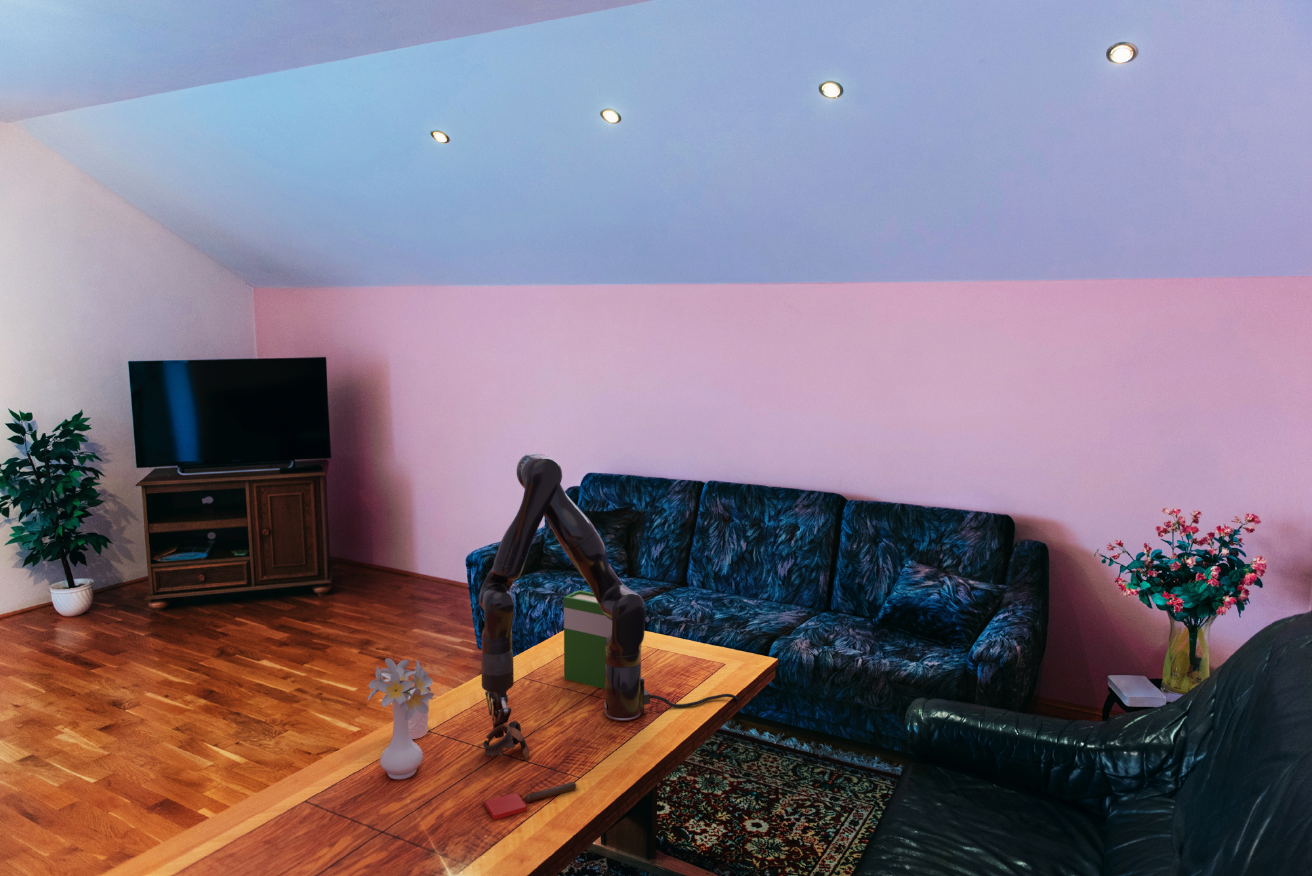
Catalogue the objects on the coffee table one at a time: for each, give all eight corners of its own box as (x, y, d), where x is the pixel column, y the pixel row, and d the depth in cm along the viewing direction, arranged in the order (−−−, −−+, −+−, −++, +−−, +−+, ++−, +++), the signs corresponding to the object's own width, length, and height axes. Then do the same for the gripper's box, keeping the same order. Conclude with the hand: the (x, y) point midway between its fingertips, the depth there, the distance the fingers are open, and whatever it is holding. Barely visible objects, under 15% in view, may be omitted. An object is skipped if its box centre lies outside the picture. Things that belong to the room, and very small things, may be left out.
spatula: (570, 782, 183) (570, 775, 183) (581, 795, 178) (581, 788, 178) (484, 805, 174) (484, 798, 174) (493, 820, 169) (493, 812, 169)
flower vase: (403, 800, 176) (400, 686, 173) (356, 770, 188) (352, 663, 184) (454, 775, 186) (452, 667, 183) (406, 748, 197) (403, 647, 194)
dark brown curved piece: (527, 768, 190) (509, 742, 187) (493, 781, 192) (473, 756, 189) (538, 731, 201) (520, 706, 198) (505, 744, 203) (487, 719, 200)
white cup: (436, 728, 208) (435, 690, 206) (417, 743, 200) (416, 703, 199) (409, 723, 210) (408, 685, 209) (389, 737, 203) (388, 698, 201)
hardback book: (630, 682, 236) (631, 600, 233) (616, 692, 229) (616, 607, 226) (579, 669, 244) (578, 590, 241) (564, 678, 238) (563, 597, 235)
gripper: (521, 674, 195) (522, 744, 197) (503, 655, 207) (504, 721, 209) (490, 680, 192) (491, 752, 194) (473, 660, 203) (475, 728, 205)
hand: (498, 736), depth 201 cm, fingers closed
